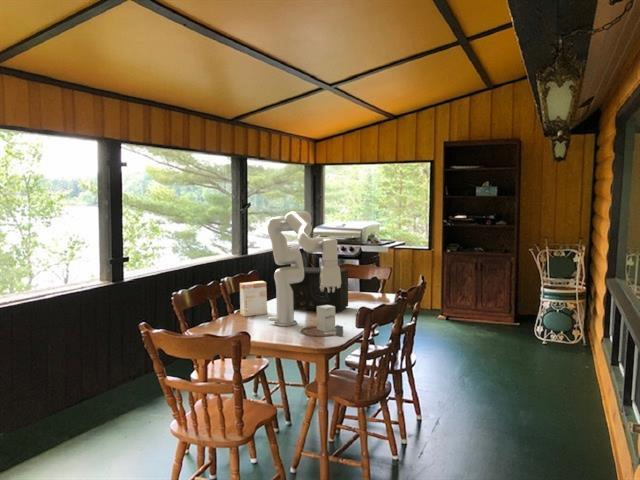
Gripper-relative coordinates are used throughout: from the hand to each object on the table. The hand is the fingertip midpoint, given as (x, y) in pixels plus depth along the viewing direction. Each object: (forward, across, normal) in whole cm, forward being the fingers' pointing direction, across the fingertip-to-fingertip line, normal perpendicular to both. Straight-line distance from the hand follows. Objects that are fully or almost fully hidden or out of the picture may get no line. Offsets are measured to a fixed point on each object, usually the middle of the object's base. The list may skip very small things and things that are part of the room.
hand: (330, 300), depth 270 cm
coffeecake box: (+19, -26, +68) cm, 75 cm away
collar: (+19, 0, +11) cm, 22 cm away
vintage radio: (+19, +14, +69) cm, 73 cm away
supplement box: (+19, +3, +16) cm, 25 cm away
